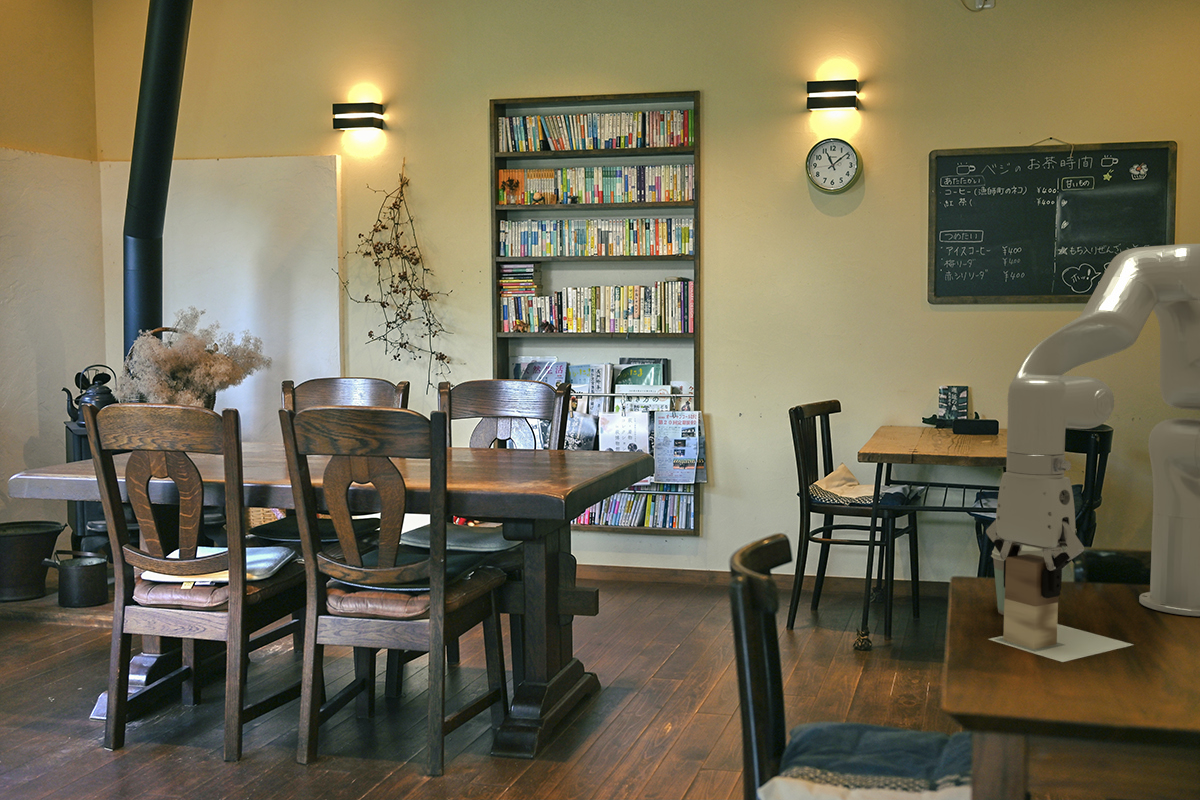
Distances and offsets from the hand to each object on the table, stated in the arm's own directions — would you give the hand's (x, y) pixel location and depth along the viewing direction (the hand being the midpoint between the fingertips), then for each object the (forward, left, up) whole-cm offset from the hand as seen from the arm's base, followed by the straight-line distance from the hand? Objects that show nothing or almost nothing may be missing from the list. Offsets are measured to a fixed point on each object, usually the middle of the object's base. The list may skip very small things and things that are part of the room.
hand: (1031, 590), depth 143 cm
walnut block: (0, 0, -1) cm, 1 cm away
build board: (-4, +2, -9) cm, 10 cm away
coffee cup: (-12, -11, -9) cm, 18 cm away
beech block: (0, 0, -7) cm, 7 cm away
